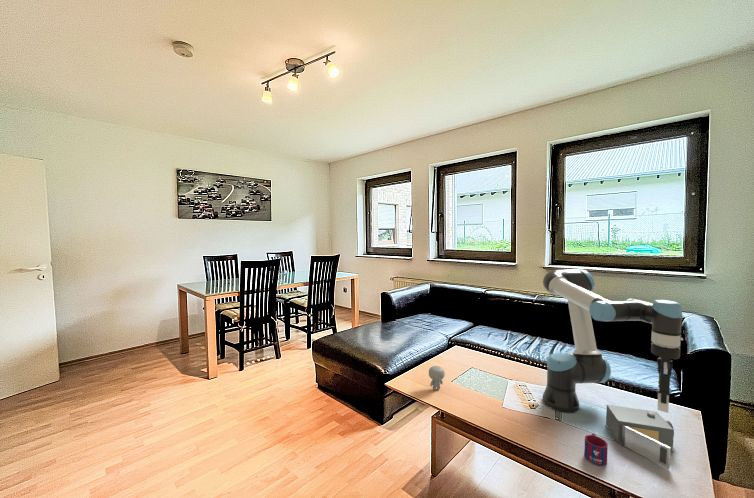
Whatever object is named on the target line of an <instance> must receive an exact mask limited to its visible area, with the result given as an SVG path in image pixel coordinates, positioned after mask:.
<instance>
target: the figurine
mask: <svg viewBox="0 0 754 498" xmlns="http://www.w3.org/2000/svg"><path fill="white" fill-rule="evenodd" d="M445 376H446V375H445V370H444V368H443V367H441V366H438V365H431V366H430V367H429V369H428V377H429V378H430V379H431V382H430V385H429V386H430V387H432V390H433V389H434V390H433V391H436V390H438V389H439V390H440V389H441V385H443V382H444V381H443V379H444V378H445Z"/></svg>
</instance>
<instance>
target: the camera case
mask: <svg viewBox="0 0 754 498" xmlns="http://www.w3.org/2000/svg"><path fill="white" fill-rule="evenodd" d="M605 416H606V418H605V419H606V421H605V425H606V427H607V429H608V430H609V432H610V433H611V435H612V436H613V439H614V440H615V442H616V444H620V445H622V425H625V426H627V427H629V428H631V429H633V430H635V431H637V432H639V433H642V434H644V435H646V436H648V437H650V438H652V439H654V440H656V441H658V442H660V443H662V444H664V445H666V446H669V447H671V449H670V454H673V452H674V436H675V429H674V426H673V424H672V423H671V422H670V420H665V418H663V417H662V415H660V414H659V413H658V411H655V410H647V409H642V408H641V409H640V408H633V407H627V406H622V405H621V406H620V405H613V404H606V415H605Z"/></svg>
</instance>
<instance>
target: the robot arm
mask: <svg viewBox="0 0 754 498" xmlns="http://www.w3.org/2000/svg"><path fill="white" fill-rule="evenodd" d="M542 284H543V287H544V289H545V290H546V291H547V292H548V293H550V294H552V295H554V296H560V297H562V298H563V299H566V300H567V304H568V305H567V306H568V311H569V316H570V323H571V327H572V328H571V329H572V335H573V341H574V347H575V349H574V351H572V354H571V353H567V352H565V353H564V352H555V353H552V354H550V355H549V356H548V358H547V363H546V367H547V369H546V370H547V371H546V372H547V373H546V377H547V378H546V387H545V389H544V391H543V393H542V402H543V404H544V405H545V406H547V408H550V409H552V410H554V411H557V412H560V413H565V414H566V413H567V414H573V413H577V412H579V411H580V401H579V399H578V398H579V397H578V395H577V392H576V388H577V387H576V385H577V384H596V385H597V384H600V383H601V384H602V383H606V382H608V380H609V379H610V377H611V375H612V374H611V373H612V369H611V365H610V362H608V359H606V358H605V357H604V356H603V355H602V352H600V351H599V350H598V348H597V342H596V337H595V332H594V327H593V326H594V325H593V322H592V319H593V320H594V321H596V322H597V321H598V322H626V321H627V322H629V321H630V322H631V321H633V322H634V321H635V322H637V321H639V322H640V321H641V322H644V323H647V324H650V325H651V339H650V341H651V343H650V344H651V345H650V352H651V354H653V355H654V356H657V357H658V358H657V359H656V360H657V361H656V363H657V372H658V382H657V383H658V386H657V387H658V389H656V391H655V393H657V410H658V411H659V412H660V411H661V412H664V413H667V414H668V413H669V403H670V399H669V398H670V396H671V395H670V394H671V393H670V391H671V390H672V389H671V388H670V385H671V376H672V369H673V367H674V363H673V360H678V359H680V358H681V341H684V338H683V337H682V320H683V306H682V304H681V303H680V302H677V301H674V300H668V299H667V300H666V299H654V300H653V302H650V301H646V300H643V299H642V300H641V299H639V298H636V299H635V298H627V299H625V300H609V299H608V298H605V297H603V296H601V295H599V294H596V293H594V292H593V291H594V289H595V286H596V285H595V279H594V277H593V276H592V274H591V273H590V272H589V271H587V270H585V269H579V268H575V269H574V268H572V269H571V268H570V269H552V270H550V271H548V272H547V273H545V275H544V277H543V279H542Z"/></svg>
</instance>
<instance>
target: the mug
mask: <svg viewBox="0 0 754 498" xmlns="http://www.w3.org/2000/svg"><path fill="white" fill-rule="evenodd" d="M608 447H609V444H608V442H607V441H606V440H605V439H604V438H602V437H600V436H597V435H596V433H591V434H588V435H585V436H584V449H583V450H584V452H583V453H584V454H583V455H584V456H583V457H584V458H585V460H587V461H588V462H589V463H590V464H592V465H595V466H598V467H599V466H600V467H605V466H606V465H608Z"/></svg>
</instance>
